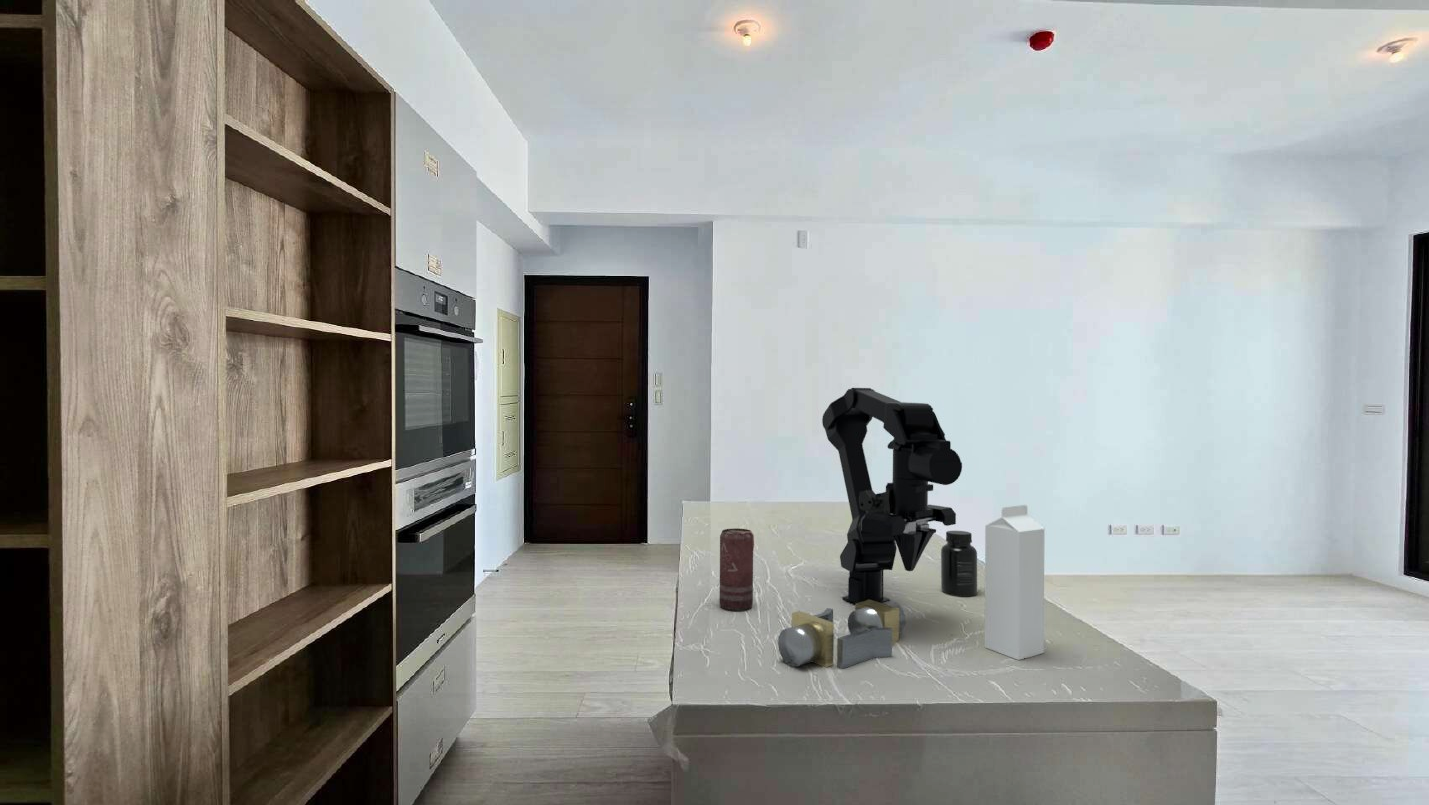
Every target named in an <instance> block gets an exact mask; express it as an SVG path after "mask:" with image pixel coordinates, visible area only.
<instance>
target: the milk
mask: <svg viewBox="0 0 1429 805" xmlns="http://www.w3.org/2000/svg"><path fill="white" fill-rule="evenodd" d="M984 532H985V533H984V534H985V536H984V538H985V539H984V540H985V544H984V546H985V548H984V549H985V550H984V551H985V553H984V556H985V557H984V561H985V562H984V563H985V564H984V565H985V566H984V648H986V649H988V650H989V651H990V650H991V651H993V652H996V653H999V654H1001V655H1003V656H1005V657H1009V658H1011V659H1014V660H1016V661H1020V660H1024V658H1025V659H1028V658H1031V657H1035V656H1039V655H1042V654H1044V653H1045V528H1044V527H1043V526H1042V525H1041V524H1040V523H1038V522H1037V521H1036V520H1035V519H1033V518H1032V517H1031V516H1030V515H1029V514H1028V505H1026V504H1024V505H1023V504H1022V505H1021V504H1019V505H1011V506H1003V507H1002V508H1001V517H1000V518H997V519H995V520H993V521H991V522H990V523H988V524H986V525H985V529H984Z"/></svg>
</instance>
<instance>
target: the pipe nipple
mask: <svg viewBox="0 0 1429 805" xmlns="http://www.w3.org/2000/svg"><path fill="white" fill-rule="evenodd" d="M854 604H855V610H852V612H851V613H850V614H849V615H848V617H847V629H848V633H849V634H853V633H856V632H859V631H862V630H866V629H870V628H885V627H890V628H891V629H892V644H894V643H896V642H900V634H901V633H903V631H904V630H905V628H906V625H907V619H906V614H905V612H904V609H903V608H902V607H901V606H900V605H899V604H898V603H897V602H894V600H893V601H891V600H890V601H887V602H883V603H879V602H876V601H873V600H867V601H863V602H859V603H854Z"/></svg>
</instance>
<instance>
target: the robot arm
mask: <svg viewBox="0 0 1429 805" xmlns="http://www.w3.org/2000/svg"><path fill="white" fill-rule="evenodd" d="M873 418H874V419H876V420H878V421H879V422H882V423H883V426H882V428H883V429H884V431H886V432H887V433H889V435H890V436H892V437H893V439H892V440H891V441H890V442H889V443H888V444H887V448H888V449H889V450H892V482H886V485H885V491H883V492H878V493H876V492H875V491H874V490H873V488H872V482H871V477H870V474H869V469H868V464H867V459H866V455H865V451H864V447H863V443H864V440H865V439H866V436H867V433H868V425H869V424H870V422H871V421H872V420H873ZM821 422H822V423H821V424H822V427H823V429H824V431H825V435H826V438H827V440H828V441H829V442H830V443H829V444H831V445H832V446H833V447H834V448H835V449H836V450H837V452H838V456H839V461H840V465H841V471H842V474H843V475H842V476H843V480H844V485H845V489H846V494H847V495H846V496H847V499H848V504H849V509H850V510H849V511H850V514H851V523H850V526H849V528H848V531H847V533H846V534H847V535H846V537H847V543H846V545H845V547H843V549H842V551H841V553H840V556H839V560H840V567H841V568H842V569H845V570H846V571H848V581H847V582H848V586H847V590H848V591H847V592H848V594H847V595H845V596H843V597H842V600H843V601H847V602H850V603H854V604H856V603H859V602H863V601H867V600H873V601H876V602H879V603H883V602H887V601H891V599H890V598H888V597H884V571H886V570H887V571H892V570H893V568H894V563H895V558H896V554H897V548H898V553H899V555H900V559H901V562H902V564H903V567H904V568H903V569H904V570H905V571H906V572H913V571H914V570H915V568H916V566H917V565H918V563H919V560H920V558H921V557H922V554H923V553H924V550H925V548H926V547H927V546H928V544H929V542H930V540H932V537H933V535H934V534H936V532H937V529H936V528H931V527H930V524H929V522H938V523H942V524H943V526H947V527H948V526H953V525H956V524H957V523H956V522H957V518H956V517H957V513H956V512H955V511H954V510H953V508H952V507H950V506H949V507H948V506H941V505H934V504H929V503H928V502H929V501H928V500H929V496H928V495H929V492H933V491H934V484H938V485H943V486H948V485H951V484H954V483H955V482H956V481H957V480H958V479H959V477H960V476H961V474H962V470H963V463H962V460H961V457H960V455H959V454H958V453H957V452H956V450H954V449H952V448H951V447H952V446H951V445H952V444H951V441H950V440H947V439H946V434H945V432H944V430H943V429H942V427H941V425H940V421H939V420H938V417H937V415H936V413H935V411H934V408H933V406H931V405H930V404H929V403H923V402H904V401H903V402H902V401H900V400H897V399H894V398H892V397H889V396H888V395H885V394H882V393H880V392H877V391H876V390H874V389H873V388H870V387H851V388H848V389H847V390H846V391H845V393H844V395H842V396H840V397H838V398H837V399H835V400H833V401H832V402H831V403H830V404H829V405H828V407H827V408H826V409H825V411H824V413H823V415H822V419H821ZM933 483H934V484H933Z"/></svg>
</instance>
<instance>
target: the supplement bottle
mask: <svg viewBox="0 0 1429 805" xmlns="http://www.w3.org/2000/svg"><path fill="white" fill-rule="evenodd" d="M945 541H946V542H947V543H946V544H944V545H943V546H942V547H941V549H940V583H941V584H940V586H941V591H942V592H943V593H945V594H947V595H950V596H955V597H956V596H957V597H972V596H975V595H976V594H977V593H978V550H977V549H976V548H975V547H974V546H973V545H972V544H971V543H973V541H972V532H969V531H965V530H964V531H963V530H947V531H946V532H945Z"/></svg>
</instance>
